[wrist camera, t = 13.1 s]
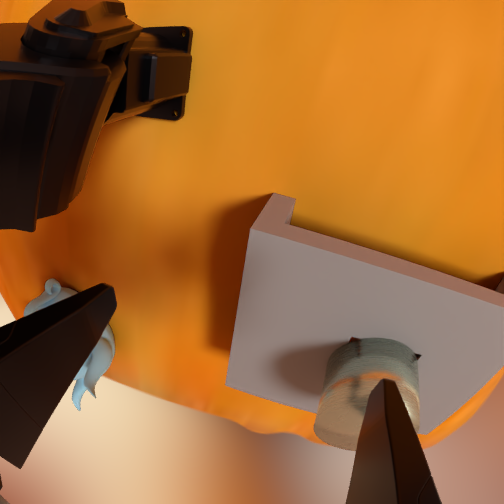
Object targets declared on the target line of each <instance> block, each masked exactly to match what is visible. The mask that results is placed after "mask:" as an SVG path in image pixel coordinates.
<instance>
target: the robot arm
mask: <svg viewBox="0 0 504 504" xmlns="http://www.w3.org/2000/svg"><path fill="white" fill-rule="evenodd" d="M184 31H186V35H185V36H184V37H183V35H182V33H183V32H184ZM192 37H193V31H192V29H191V28H190V27H185V26H170V27H148V28H142V27H141V26H139V25H137V24H135V23H134V22H132V21H131V20H129V19H128V18H127V15H126V12H125V6H124V3H123V2H120V1H118V0H52V1H51V2H50V3H48V4H47V5H46V6H45V7H43V8H42V9H41V10H40V11H38V12H37V13H36V14H35V15H34V16H33V17H31V18H30V20H29V21H28V23H2V24H0V229H17V230H22V231H27V232H34V231H35V229H36V220H37V219H40V218H44V217H48V216H52V215H56V214H58V213H60V212H62V211H64V210H65V209H67V208H68V205H69V203H70V202H71V201H72V200H73V199H74V198H75V197H76V196H77V195H78V193H79V192H80V191H81V189H82V186H83V183H84V180H85V177H86V174H87V171H88V167H89V164H90V161H91V158H92V155H93V152H94V149H95V146H96V143H97V140H98V137H99V135H100V132H101V129H102V126H104V125H107V124H110V123H113V122H116V121H119V120H122V119H125V118H128V117H131V116H142V117H151V118H159V119H167V120H179V119H181V118H182V117H183V116H184V111H185V99H186V94H187V93H188V90H189V80H190V71H191V62H192V56H191V55H190V52H191V44H192ZM175 110H177V111H178V116H176V115H175ZM116 307H117V302H116V297H115V292H114V288H113V287H112V286H110V285H108V284H106V283H100V284H98V285H96V286H93V287H91V288H89V289H86V290H84V291H82V292H79V293H77V294H75V295H72V296H70V297H68V298H65V299H63V300H61V301H58V302H56V303H54V304H52V305H49V306H47V307H45V308H42V309H40V310H38V311H36V312H33V313H31V314H29V315H27V316H24V317H22V318H20V319H18V320H17V321H16V320H15V321H13V322H11V323H9V324H6V325H4V326H2V327H0V456H1V457H2V458H4V459H5V460H7V461H8V462H10V463H11V464H13V465H14V466H16V467H18V468H19V469H21V468H22V466H23V464H24V462H25V461H26V459H27V457H28V455H29V453H30V452H31V450H32V448H33V446H34V444H35V442H36V441H37V439H38V437H39V436H40V434H41V432H42V431H43V428H44V427H45V425H46V423H47V422H48V420H49V418H50V417H51V415H52V413H53V412H54V410H55V408H56V407H57V405H58V403H59V402H60V400H61V398H62V397H63V395H64V394H65V392H66V391H67V389H68V387H69V386H70V384H71V383H72V381H73V380H74V378H75V377H76V375H77V373H78V372H79V370H80V369H81V367H82V366H83V364H84V363H85V361H86V360H87V358H88V357H89V355H90V354H91V352H92V351H93V349H94V348H95V346H96V345H97V343H98V341H99V339H100V338H101V336H102V334H103V332H104V330H105V328H106V326H107V325H108V323H109V321H110V319H111V317H112V315H113V314H114V312H115V310H116ZM1 488H2V481H1V476H0V490H1ZM0 504H9V503H8V502H7V501H6V500H5V499H4V498H3V497H2V496H1V495H0ZM346 504H442V502H441V500H440V497H439V495H438V492H437V489H436V486H435V483H434V480H433V477H432V476H431V472H430V469H429V466H428V463H427V460H426V458H425V455H424V452H423V449H422V447H421V444H420V441H419V439H418V436H417V433H416V431H415V428H414V426H413V423H412V421H411V418H410V416H409V413H408V411H407V408H406V406H405V403H404V401H403V398H402V396H401V394H400V391H399V389H398V387H397V384H396V382H395V381H394V380H390V379H386V378H383V379H381V380H380V381H379V383H378V384H377V385H376V386H375V387H374V389H373V390H372V391H371V393H370V395H369V398H368V402H367V407H366V411H365V415H364V419H363V422H362V426H361V430H360V434H359V438H358V443H357V448H356V455H355V460H354V466H353V471H352V477H351V481H350V486H349V491H348V495H347V500H346Z"/></svg>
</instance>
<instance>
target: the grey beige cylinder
mask: <svg viewBox="0 0 504 504" xmlns="http://www.w3.org/2000/svg"><path fill="white" fill-rule="evenodd" d="M383 378H386V379H390V380H394V381H395V382H396V384H397V387H398V389H399V391H400V394H401V396H402V398H403V401H404V403H405V406H406V408H407V411H408V413H409V416H410V418H411V421H412V423H413V426H414V428H415V431H416V433H418V431H419V428H420V400H419V373H418V360H417V357H416V355H415V353H414V352H413V351H412V349H410V348H409V347H408V346H406V345H405V344H403V343H401V342H398V341H395V340H392V339H387V338H364V339H359V338H355V337H351V342H349V343H347V344H344V345H342V346H341V347H339V348H338V349H337V350H335V351H334V352H333V353H332V354H331V356H330V357H329V359H328V362H327V367H326V372H325V377H324V382H323V387H322V392H321V397H320V401H319V406H318V411H317V415H316V419H315V424H314V432H315V434H316V435H317V436H318V438H320V439H321V440H322V441H324V442H325V443H327V444H329V445H332V446H334V447H337V448H341V449H345V450H351V451H356V448H357V443H358V438H359V434H360V430H361V426H362V422H363V419H364V415H365V411H366V407H367V402H368V398H369V395H370V393H371V391H372V390H373V389H374V387H375V386H376V385H377V384H378V383H379V381H380V380H381V379H383Z"/></svg>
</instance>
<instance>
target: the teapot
mask: <svg viewBox="0 0 504 504" xmlns="http://www.w3.org/2000/svg"><path fill="white" fill-rule="evenodd" d="M77 293H78V292H76V291H74V290H72V289H70V288H64V287H61V285H60V283H59V282H58V281H57V280H56V279H54V278H51V279H49V280H47V281H46V283H45V291H44V292H43V293H42V294H41V295H40V296H39V297H37V298H35V299H33V300H32V301H31V302H29V304H28V305H27V306H26V308H25V311H24V316H27V315H29V314H31V313H33V312H36V311H38V310H40V309H42V308H45V307H47V306H49V305H52V304H54V303H56V302H58V301H61V300H63V299H65V298H68V297H70V296H72V295H75V294H77ZM114 354H115V342H114V335H113V332H112V330H111V327H110V326H109V324H108V325H107V326H106V328H105V330H104V332H103V334H102V336H101V338H100V339H99V341H98V343H97V345H96V346H95V348H94V349H93V351H92V352H91V354H90V355H89V357H88V358H87V360H86V361H85V363H84V364H83V366H82V367H81V369H80V370H79V372H78V373H77V375H76V377H75V378H74V380H77V381H76V384H75V386H74V389H73V393H72V401H73V403H74V405H75V407H76V408H77V409H78V410H79V411H80V410H81V408H80V401H81V398H82V396H83V394H84V392H85V391H86V390H88V391H89V392H90V393H91V394H92V395H93V396H94V397H95V398H96V396H95V391H94V389H95V385H96V382H97V381H98V380H99V378H100V377H101V376H102V375H103V374H104V373H105V372H106V371H107V369H108V368H109V366H110V365H111V362H112V359H113V357H114Z"/></svg>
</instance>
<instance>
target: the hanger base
mask: <svg viewBox="0 0 504 504" xmlns="http://www.w3.org/2000/svg"><path fill="white" fill-rule="evenodd" d="M295 200H296V199H294V198H290V197H287V196H283V195H279V194H276V193H273V195H272V196H271V198H270V199H269V201H268V202H267V204H266V205H265V207H264V208H263V210H262V211H261V213H260V214H259V216H258V217H257V219H256V220H255V222H254V224H253V225H252V227H251V228H250V234H249V240H248V246H247V252H246V258H245V265H244V271H243V277H242V283H241V289H240V296H239V302H238V308H237V314H236V320H235V327H234V333H233V339H232V346H231V352H230V358H229V364H228V371H227V377H226V384H225V385H226V386H228V387H231V388H234V389H237V390H240V391H243V392H246V393H249V394H252V395H255V396H258V397H261V398H264V399H267V400H270V401H274V402H277V403H280V404H284V405H287V406H291V407H294V408H298V409H301V410H305V411H309V412H313V413H316V414H317V411H318V406H319V401H320V397H321V392H322V387H323V382H324V377H325V372H326V367H327V362H328V359H329V357H330V356H331V354H332V353H333V352H334V351H335V350H337V349H338V348H339V347H341V346H342V345H344V344H347V343H348V342H349V340H350V339H351V337H355V338H359V339H364V338H387V339H392V340H395V341H398V342H401V343H403V344H405V345H406V346H408V347H409V348H410V349H412V351H413V352H414V353H415V355H416V357H417V360H418V373H419V400H420V428H419V431H418V434H426V435H427V434H428V433H430V432H431V431H432V430H433V429H435V428H436V427H437V426H439V425H440V424H441V423H442V422H444V421H445V420H446V419H447V418H449V417H450V416H451V415H452V414H453V413H454V412H456V411H457V410H458V409H459V408H460V407H461V406H463V405H464V404H465V403H466V402H467V401H468V400H469V399H470V398H472V397H473V396H474V395H475V394H476V393H477V392H478V391H479V390H480V389H481V388H482V387H483V386H484V385H485V384H486V383H487V382H488V381H489V380H490V379H491V378H492V377H493V376H494V375H495V374H496V373H497V372H498V371H499V370H500V369H501V368H502V367H503V366H504V277H503V279H502V280H501V282H500V283H499V285H498V287H497V288H496V290H495V291H493V290H490V289H487V288H485V287H482V286H479V285H476V284H474V283H471V282H468V281H465V280H462V279H459V278H456V277H454V276H451V275H448V274H445V273H442V272H439V271H436V270H433V269H430V268H427V267H424V266H421V265H418V264H415V263H412V262H409V261H406V260H403V259H400V258H397V257H394V256H391V255H388V254H384V253H381V252H378V251H375V250H372V249H369V248H365V247H362V246H359V245H356V244H353V243H349V242H346V241H343V240H340V239H336V238H333V237H330V236H326V235H323V234H320V233H316V232H313V231H310V230H306V229H303V228H299V227H296V226H292V225H290V221H291V217H292V213H293V208H294V204H295Z"/></svg>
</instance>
